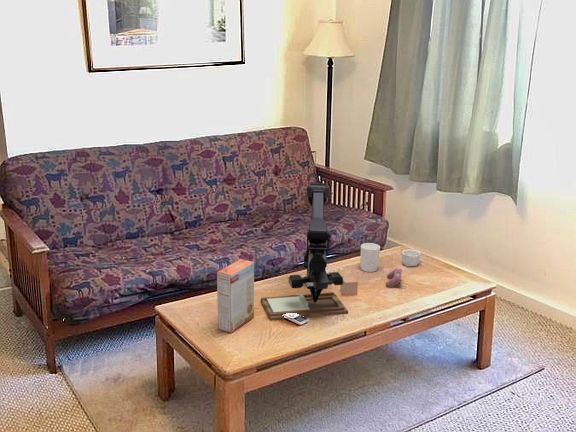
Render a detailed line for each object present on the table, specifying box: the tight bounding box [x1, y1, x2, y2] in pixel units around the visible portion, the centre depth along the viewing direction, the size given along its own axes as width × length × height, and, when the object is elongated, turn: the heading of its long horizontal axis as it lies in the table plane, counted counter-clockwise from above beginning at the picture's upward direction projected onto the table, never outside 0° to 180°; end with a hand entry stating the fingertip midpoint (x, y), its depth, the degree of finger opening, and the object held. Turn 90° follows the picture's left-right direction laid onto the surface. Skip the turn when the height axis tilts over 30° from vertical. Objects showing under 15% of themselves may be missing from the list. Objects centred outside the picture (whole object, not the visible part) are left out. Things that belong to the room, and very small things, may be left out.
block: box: [339, 276, 359, 297], centre depth 258 cm, size 5×5×6 cm
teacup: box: [401, 249, 422, 267], centre depth 287 cm, size 10×8×5 cm
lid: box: [267, 293, 310, 313], centre depth 243 cm, size 11×13×2 cm
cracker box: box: [216, 258, 255, 334], centre depth 228 cm, size 14×6×21 cm, turn 150°
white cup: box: [360, 242, 381, 273], centre depth 280 cm, size 8×8×10 cm
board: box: [260, 291, 349, 321], centre depth 245 cm, size 16×28×2 cm, turn 104°
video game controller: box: [385, 267, 403, 288], centre depth 268 cm, size 10×5×7 cm, turn 169°
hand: (314, 302), depth 245 cm, fingers closed
